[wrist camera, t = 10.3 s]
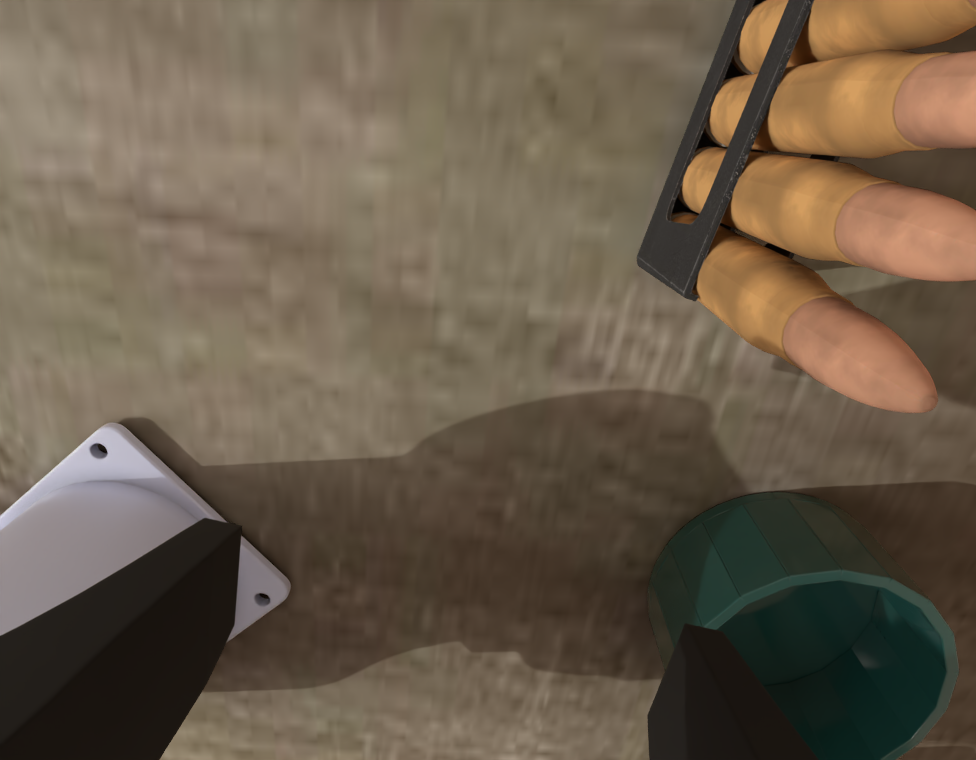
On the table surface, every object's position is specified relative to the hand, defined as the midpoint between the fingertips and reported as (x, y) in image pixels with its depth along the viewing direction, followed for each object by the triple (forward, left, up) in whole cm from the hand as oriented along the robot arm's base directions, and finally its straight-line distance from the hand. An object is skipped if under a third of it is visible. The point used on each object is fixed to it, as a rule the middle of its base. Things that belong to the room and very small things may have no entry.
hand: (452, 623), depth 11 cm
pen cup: (+3, -12, -11) cm, 16 cm away
